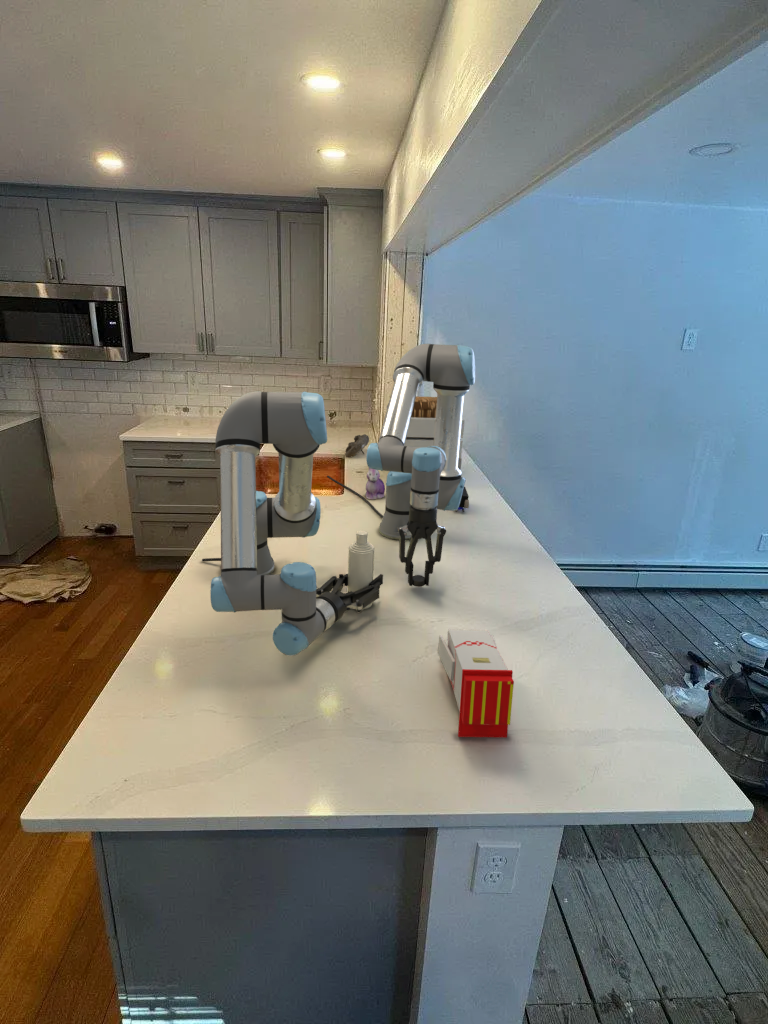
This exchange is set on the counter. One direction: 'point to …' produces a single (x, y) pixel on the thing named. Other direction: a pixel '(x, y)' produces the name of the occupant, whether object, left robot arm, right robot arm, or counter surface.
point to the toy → (478, 682)
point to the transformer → (425, 425)
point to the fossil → (357, 445)
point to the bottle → (360, 563)
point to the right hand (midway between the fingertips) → (418, 583)
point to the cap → (418, 580)
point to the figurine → (374, 485)
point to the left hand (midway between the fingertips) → (369, 575)
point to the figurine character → (464, 501)
